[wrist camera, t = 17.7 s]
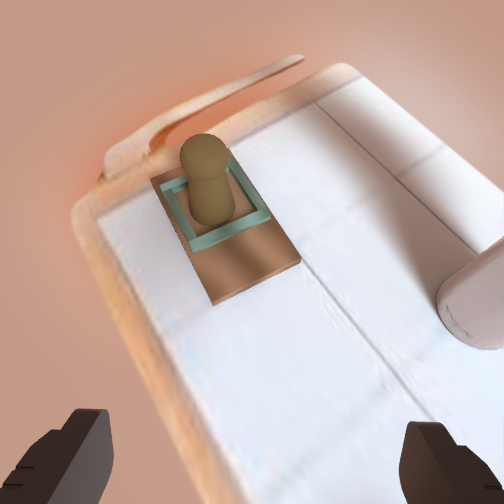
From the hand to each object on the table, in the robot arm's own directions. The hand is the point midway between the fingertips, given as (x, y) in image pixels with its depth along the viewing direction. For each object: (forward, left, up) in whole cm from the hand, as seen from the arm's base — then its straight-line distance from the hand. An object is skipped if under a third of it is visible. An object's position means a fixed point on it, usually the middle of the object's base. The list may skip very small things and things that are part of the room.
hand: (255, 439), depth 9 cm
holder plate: (-8, -24, -29) cm, 38 cm away
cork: (-8, -26, -27) cm, 38 cm away
